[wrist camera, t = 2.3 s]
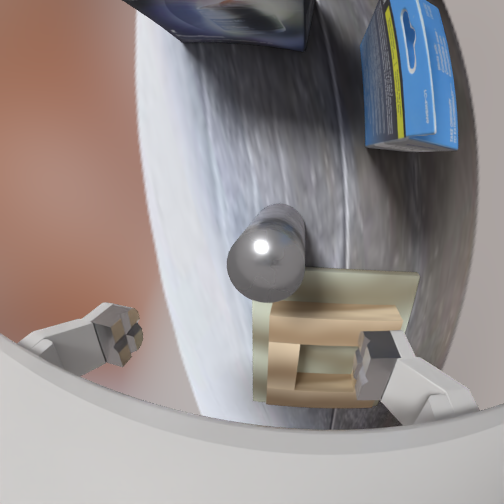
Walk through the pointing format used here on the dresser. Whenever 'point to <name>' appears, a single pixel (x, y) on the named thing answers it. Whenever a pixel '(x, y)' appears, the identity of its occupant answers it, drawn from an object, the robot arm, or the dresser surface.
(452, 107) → the label tape box
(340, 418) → the dresser surface
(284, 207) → the peg
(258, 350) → the hub block
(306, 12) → the small box
